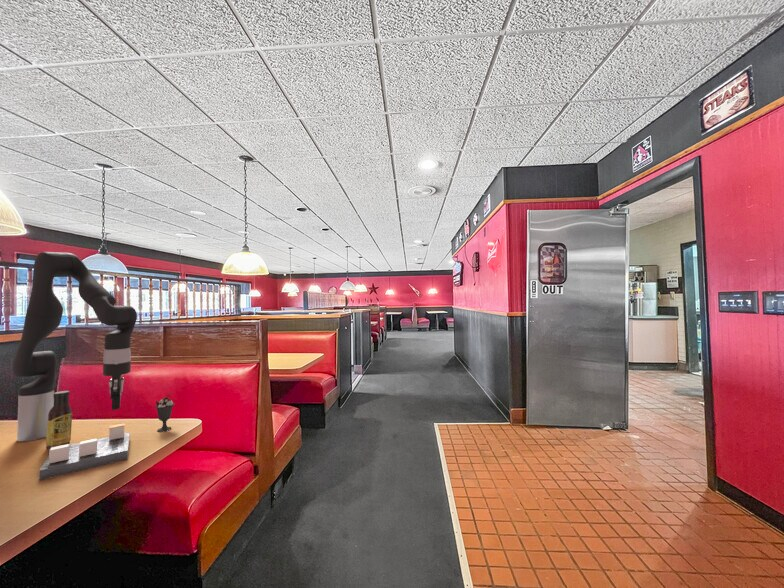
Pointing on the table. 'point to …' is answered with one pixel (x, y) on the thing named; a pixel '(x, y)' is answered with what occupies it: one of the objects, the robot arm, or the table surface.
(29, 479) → the table surface
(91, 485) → the table surface
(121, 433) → the block
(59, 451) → the right breaker handle
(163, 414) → the sundae
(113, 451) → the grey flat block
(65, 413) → the sauce bottle
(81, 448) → the handle
